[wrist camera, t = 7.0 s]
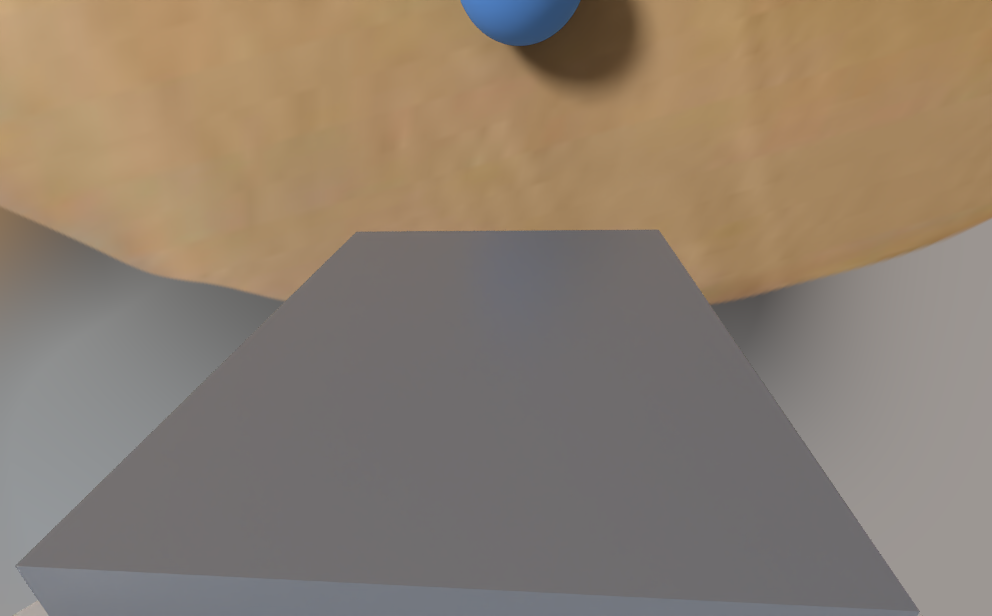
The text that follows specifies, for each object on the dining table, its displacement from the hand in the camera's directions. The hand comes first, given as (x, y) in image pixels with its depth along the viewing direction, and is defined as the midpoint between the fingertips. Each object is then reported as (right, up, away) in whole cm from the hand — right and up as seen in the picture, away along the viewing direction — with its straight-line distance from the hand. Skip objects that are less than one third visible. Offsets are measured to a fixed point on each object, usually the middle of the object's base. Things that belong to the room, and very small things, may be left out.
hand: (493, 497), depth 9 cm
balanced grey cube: (0, +2, +4) cm, 5 cm away
